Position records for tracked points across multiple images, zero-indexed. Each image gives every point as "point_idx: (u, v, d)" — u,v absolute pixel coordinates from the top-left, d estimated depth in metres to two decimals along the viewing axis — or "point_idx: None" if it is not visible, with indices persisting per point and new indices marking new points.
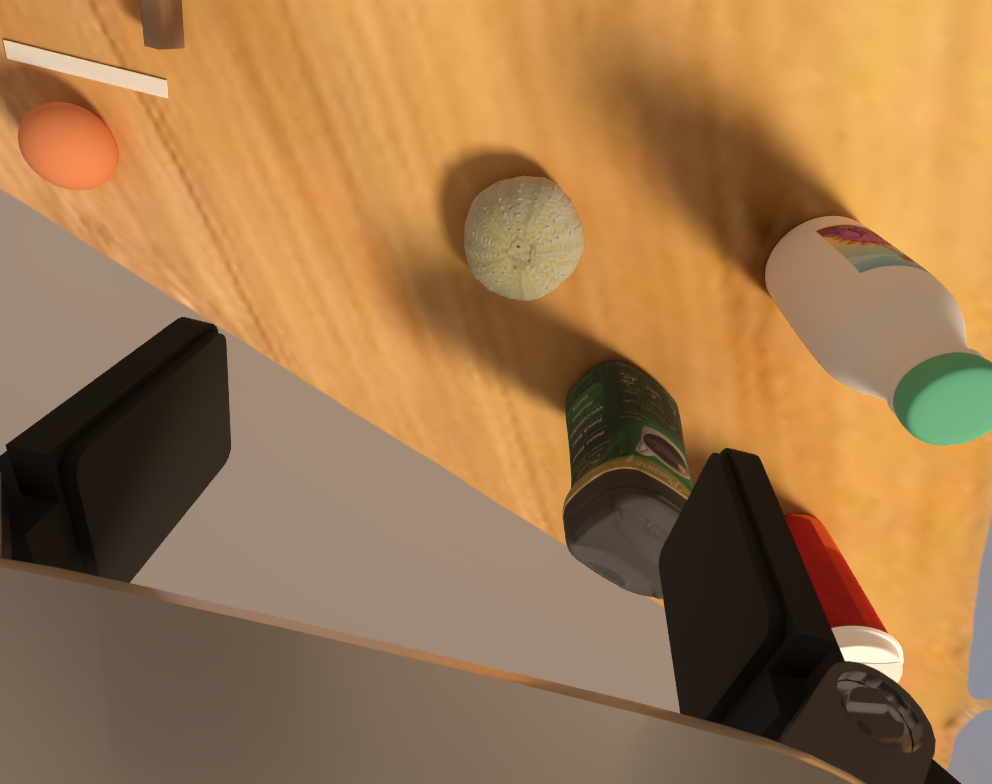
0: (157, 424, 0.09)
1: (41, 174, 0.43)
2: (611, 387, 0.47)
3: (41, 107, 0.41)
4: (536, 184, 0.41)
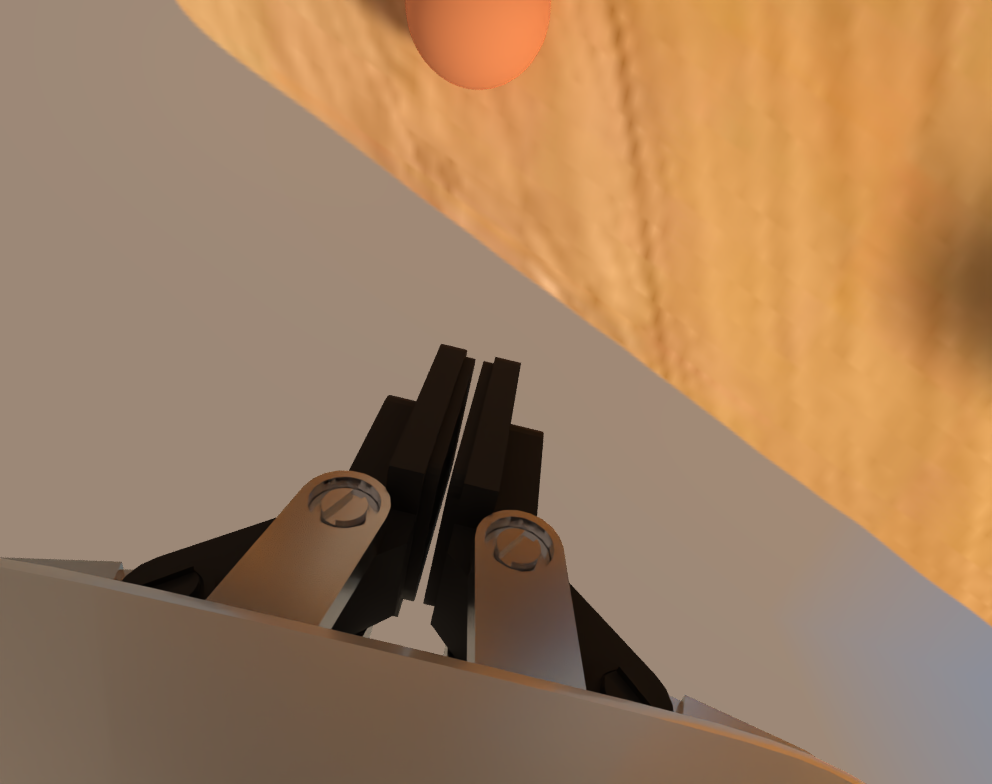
0: (452, 443, 0.10)
1: (446, 52, 0.24)
2: None
3: None
4: None
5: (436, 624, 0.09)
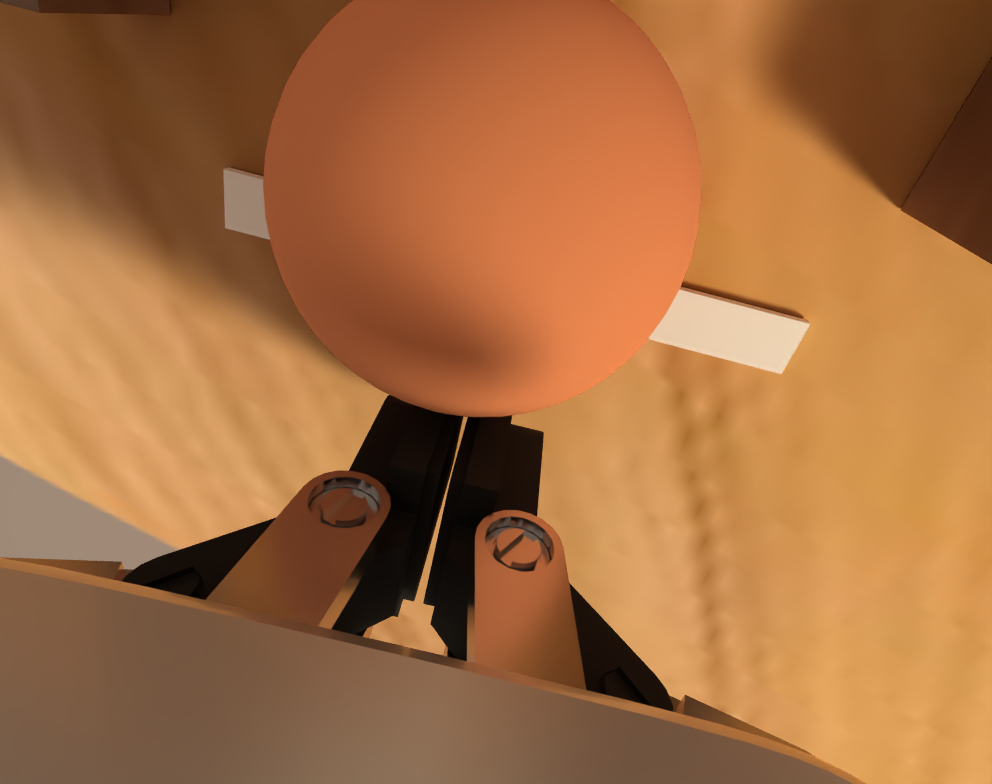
0: (452, 443, 0.10)
1: None
2: None
3: None
4: None
5: (436, 623, 0.09)
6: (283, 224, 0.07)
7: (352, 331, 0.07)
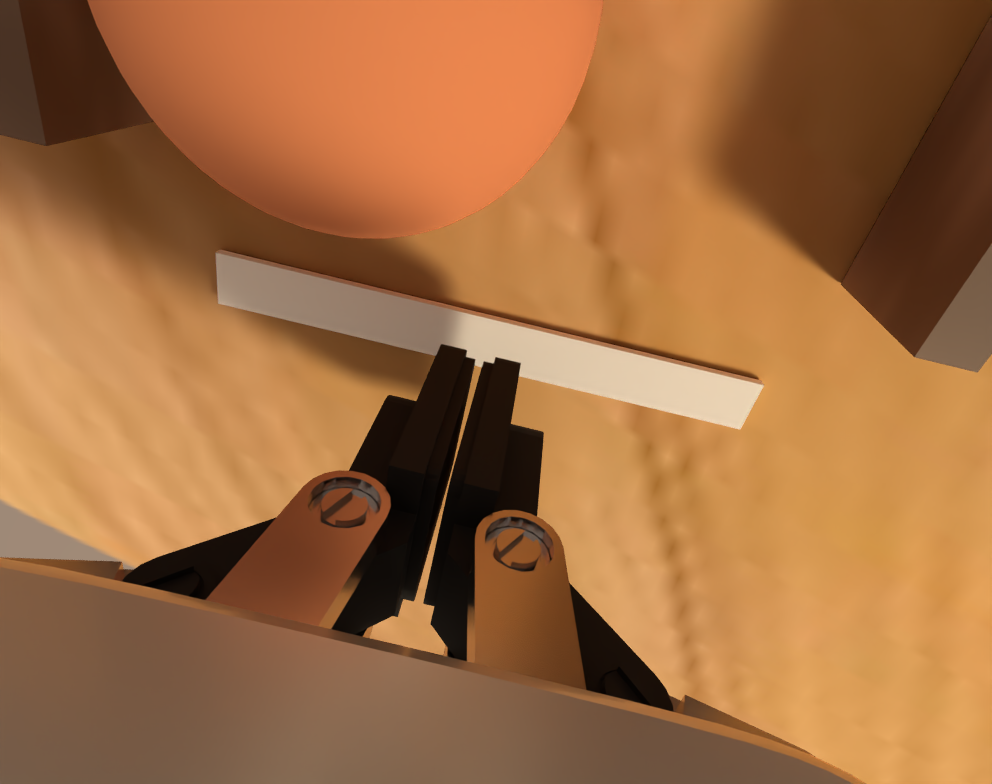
0: (452, 443, 0.10)
1: None
2: None
3: None
4: None
5: (436, 623, 0.09)
6: None
7: None
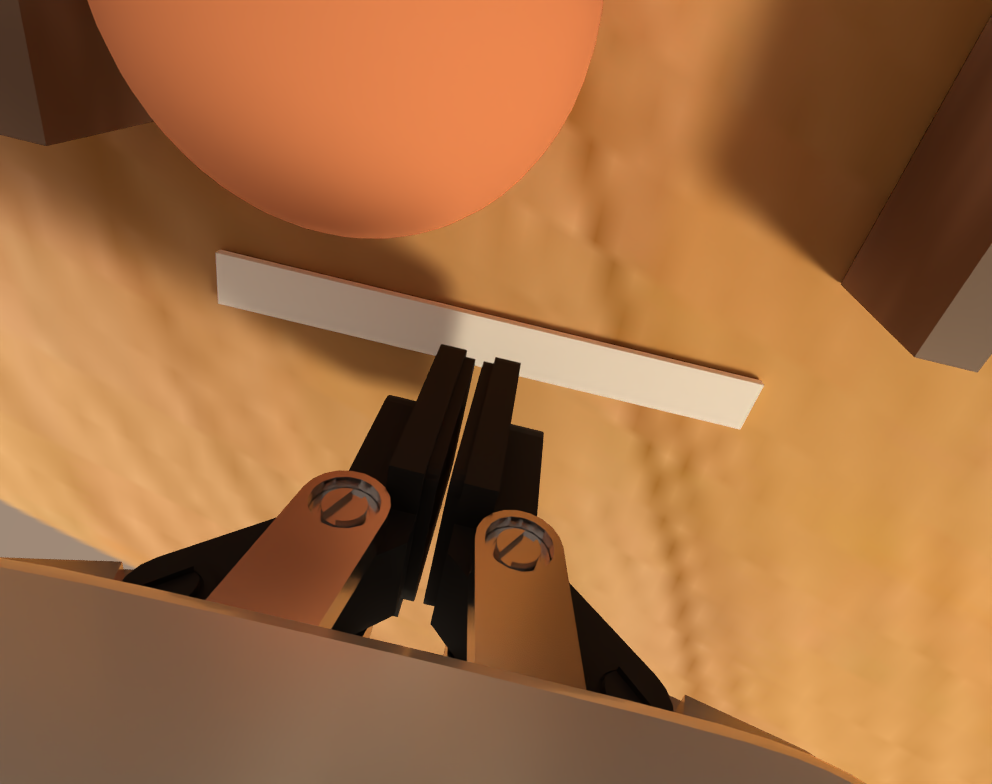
0: (452, 443, 0.10)
1: None
2: None
3: None
4: None
5: (436, 623, 0.09)
6: None
7: None
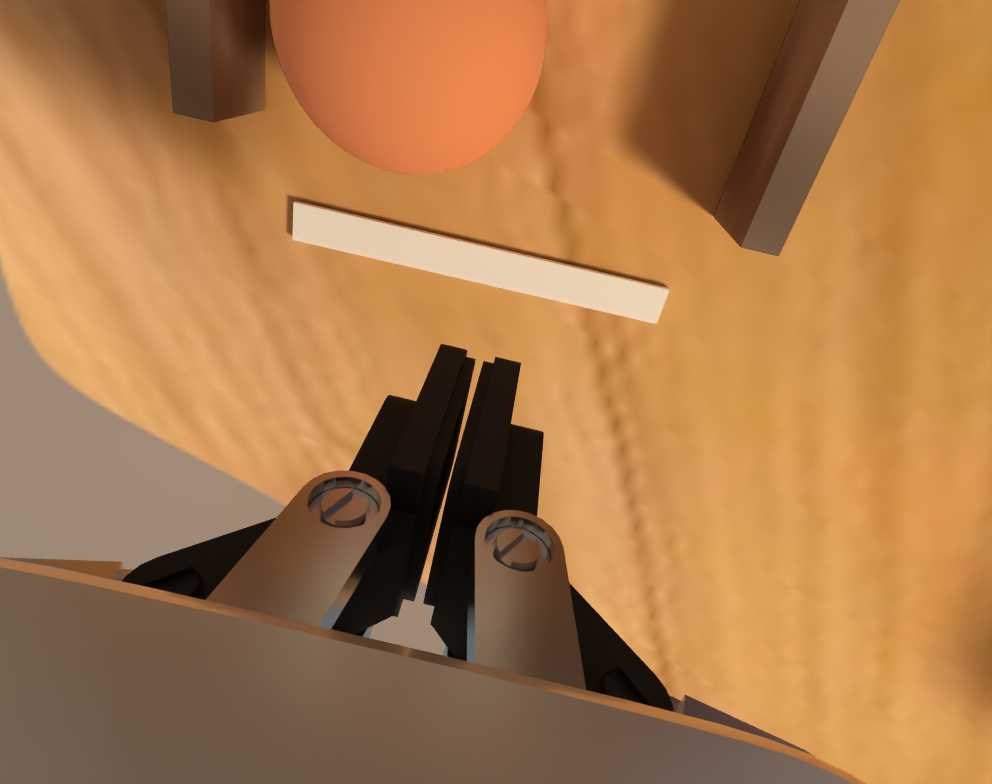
0: (452, 443, 0.10)
1: None
2: None
3: None
4: None
5: (436, 623, 0.09)
6: None
7: None
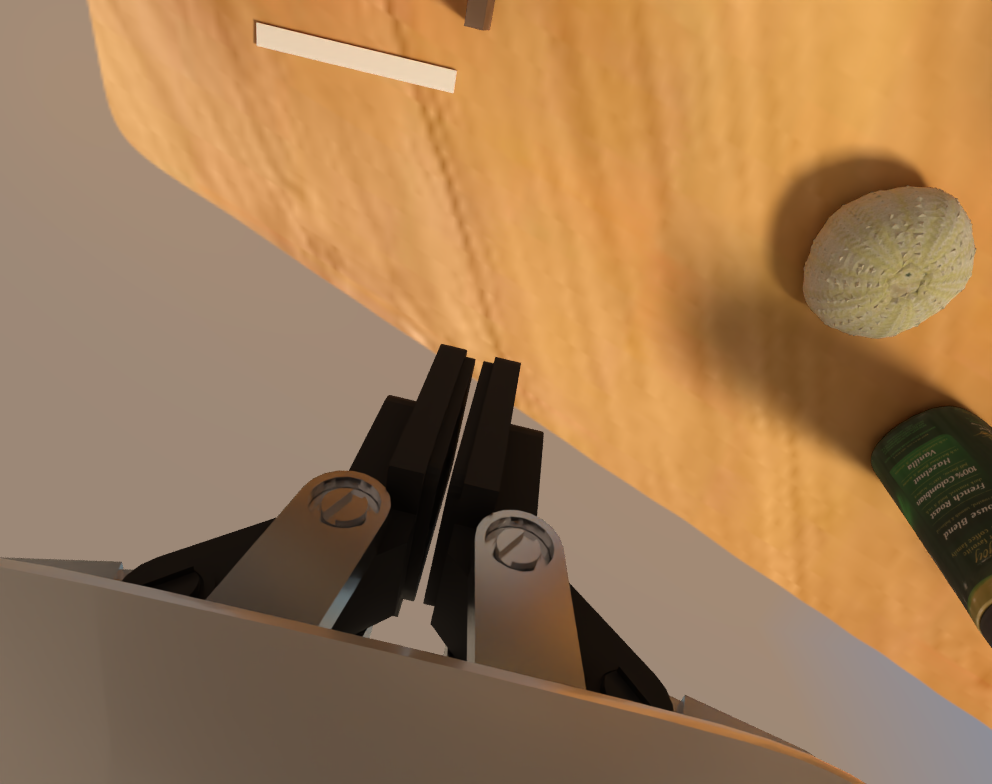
0: (452, 443, 0.10)
1: None
2: (974, 442, 0.39)
3: None
4: (937, 197, 0.33)
5: (436, 623, 0.09)
6: None
7: None
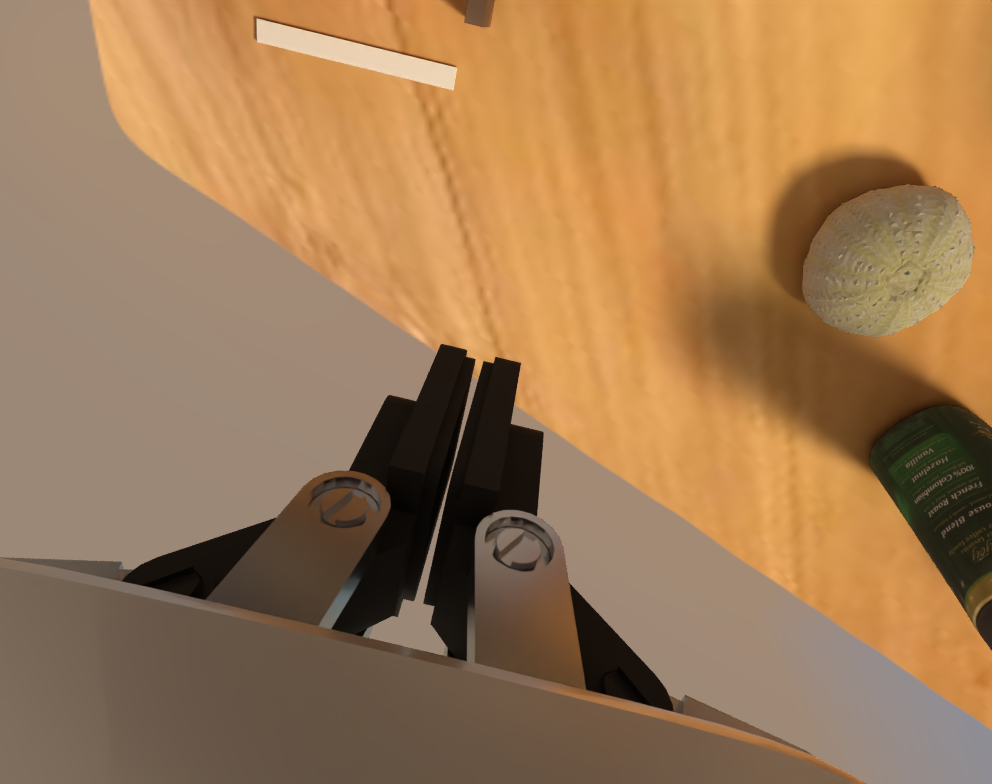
0: (452, 443, 0.10)
1: None
2: (972, 441, 0.39)
3: None
4: (936, 195, 0.33)
5: (436, 623, 0.09)
6: None
7: None
